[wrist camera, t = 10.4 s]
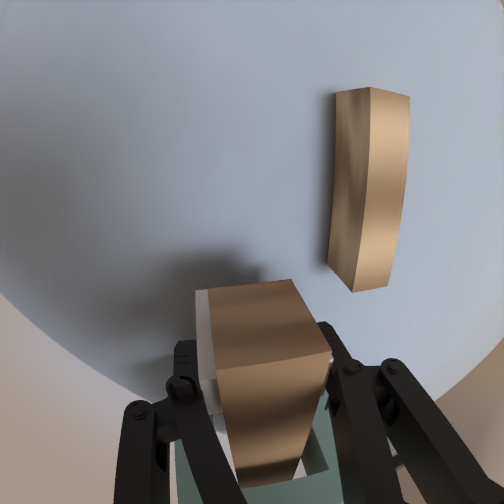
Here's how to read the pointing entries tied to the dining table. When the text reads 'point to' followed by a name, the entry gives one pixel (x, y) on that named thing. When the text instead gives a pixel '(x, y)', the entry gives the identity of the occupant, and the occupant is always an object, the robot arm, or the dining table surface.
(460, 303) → the dining table surface
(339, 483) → the green rectangular frame
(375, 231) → the rail
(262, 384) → the brown wooden long bar
